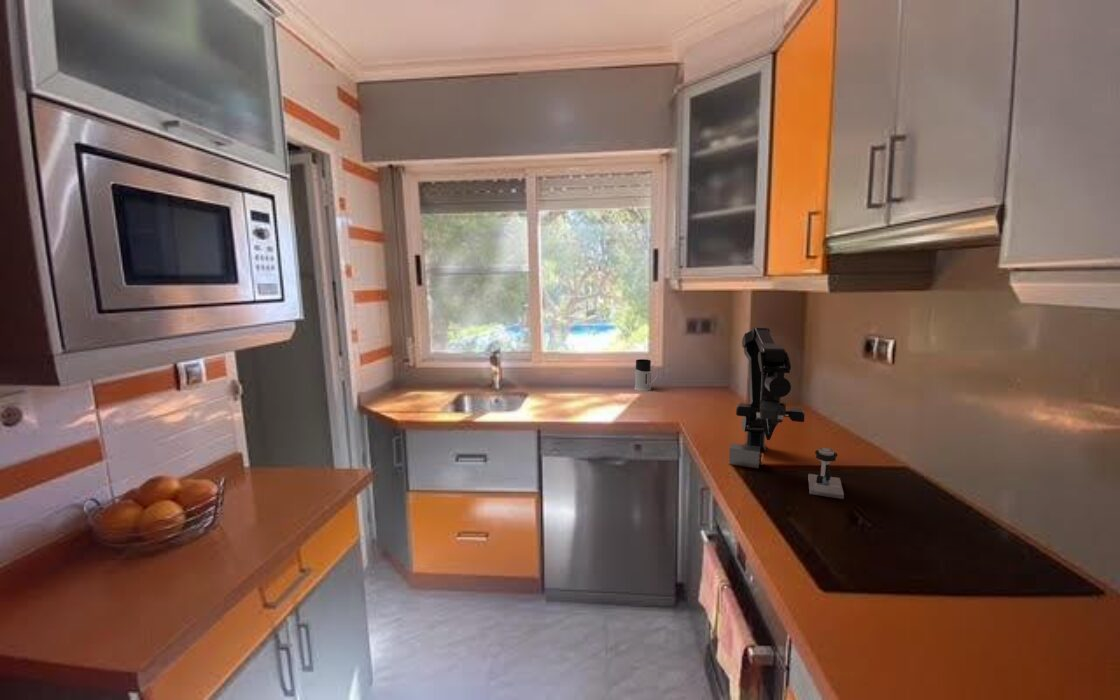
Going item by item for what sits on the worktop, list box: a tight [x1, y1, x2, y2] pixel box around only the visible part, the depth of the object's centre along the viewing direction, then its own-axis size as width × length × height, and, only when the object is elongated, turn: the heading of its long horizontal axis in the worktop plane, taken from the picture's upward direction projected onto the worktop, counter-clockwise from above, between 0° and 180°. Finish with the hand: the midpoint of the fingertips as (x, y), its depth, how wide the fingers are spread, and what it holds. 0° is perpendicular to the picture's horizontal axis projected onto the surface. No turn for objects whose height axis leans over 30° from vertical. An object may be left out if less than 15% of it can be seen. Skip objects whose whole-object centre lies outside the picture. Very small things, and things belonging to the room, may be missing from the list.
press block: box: [728, 443, 761, 469], centre depth 157 cm, size 5×8×5 cm, turn 66°
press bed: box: [807, 473, 845, 500], centre depth 138 cm, size 12×8×3 cm, turn 156°
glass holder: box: [633, 358, 660, 392], centre depth 258 cm, size 9×14×15 cm, turn 40°
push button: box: [814, 447, 838, 485], centre depth 138 cm, size 7×5×10 cm
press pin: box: [759, 452, 764, 466], centre depth 157 cm, size 3×9×3 cm, turn 66°
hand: (768, 439), depth 153 cm, fingers closed
